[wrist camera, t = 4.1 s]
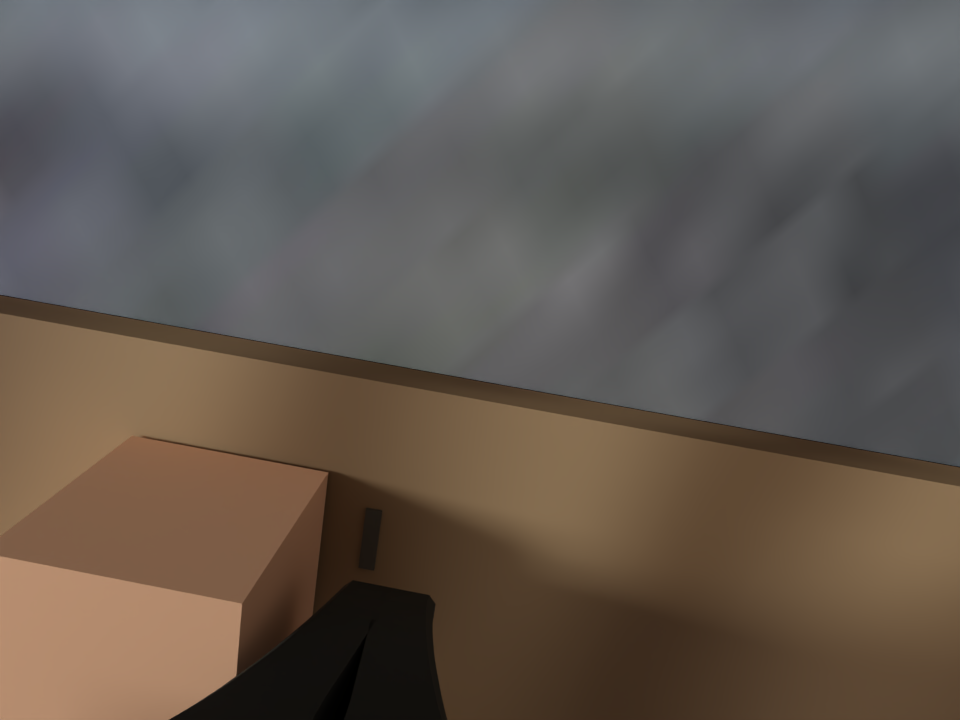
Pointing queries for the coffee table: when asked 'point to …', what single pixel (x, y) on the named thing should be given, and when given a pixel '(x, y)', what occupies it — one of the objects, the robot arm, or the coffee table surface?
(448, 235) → the coffee table surface
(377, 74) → the coffee table surface
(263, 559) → the block
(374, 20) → the coffee table surface
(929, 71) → the coffee table surface
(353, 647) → the robot arm
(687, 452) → the board
